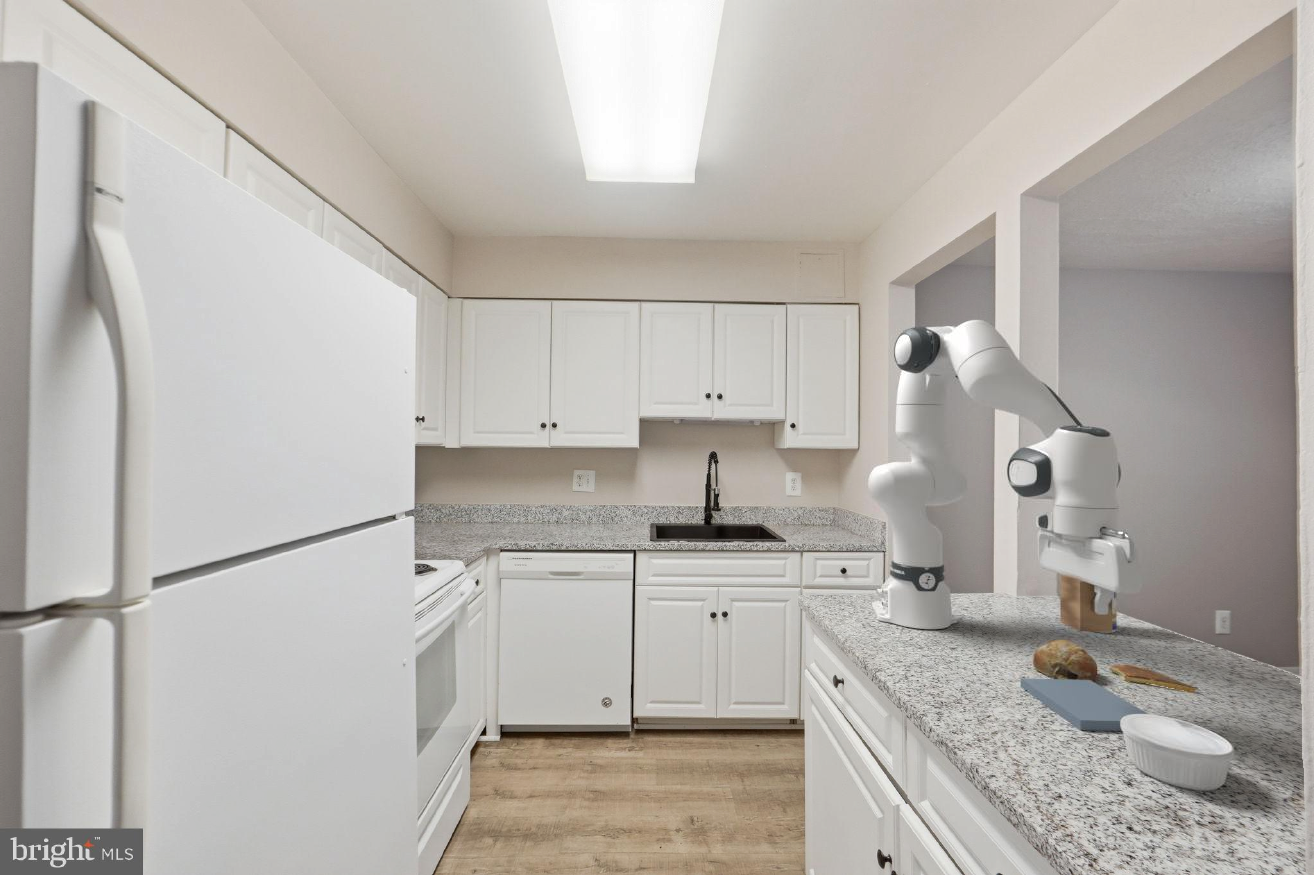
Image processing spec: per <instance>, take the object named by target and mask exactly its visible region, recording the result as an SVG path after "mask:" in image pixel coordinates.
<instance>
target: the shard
mask: <svg viewBox="0 0 1314 875" xmlns="http://www.w3.org/2000/svg"><path fill="white" fill-rule="evenodd" d="M1108 669H1109V670H1110V672H1111V673H1113V672H1114V673H1113V674H1115V673H1116V674H1115V675H1117V674H1118V676H1119V675H1120V676H1121V677H1120V676H1119V677H1120V678H1122V677H1123V679H1124V680H1125V681H1124V680H1123V679H1122V680H1123V681H1124V682H1126V681H1134V682H1140V683H1139V684H1141V683H1148V684H1155V685H1158V686H1164V687H1168V688H1174V689H1178V690H1184V691H1183V692H1185V691H1187V693H1192V692H1196V690H1198V689H1199V688H1198V687H1196V686H1193V685H1190V684H1188V683H1185V682H1182V681H1179V680H1177V679H1174V678H1172V677H1171V676H1168V675H1165V674H1162V673H1160V672H1156V671H1155V670H1152V669H1149V668H1145V667H1144V666H1137V665H1133V664H1121V665H1120V664H1119V665H1118V664H1117V665H1110V666H1108ZM1134 682H1133V683H1134ZM1178 690H1177V691H1178Z"/></svg>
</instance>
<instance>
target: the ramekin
mask: <svg viewBox="0 0 1314 875" xmlns="http://www.w3.org/2000/svg"><path fill="white" fill-rule="evenodd" d="M1120 725H1121V729H1122V731H1121V732H1122V734H1123V739H1124V743H1125V748H1126V753H1127V755H1128V758H1129V760H1130V761H1131V762H1132V764H1133V765H1134V767H1136V768H1137V769H1138V770H1140V771H1141V772H1142V773H1144V774H1146V775H1147V776H1150V777H1152V778H1153V779H1156V780H1158V781H1161V782H1162V783H1165V784H1169V785H1171V786H1175V787H1178V788H1183V789H1187V790H1193V791H1203V792H1204V791H1206V792H1207V791H1214V790H1217V789H1219V788H1221V787H1222V786H1224V784H1225V782H1226V779H1227V775H1228V773H1229V769H1230V766H1231V765H1230V764H1231V760H1233V758H1234V757H1235V748H1234V746H1233V745H1232V743H1230V741H1228V740H1227V739H1225V737H1222V736H1221V735H1219V734H1218V733H1215V732H1214V731H1211V730H1209V729H1207V728H1205V727H1202V726H1200V725H1197V724H1194V723H1191V722H1189V721H1185V720H1181V719H1179V718H1178V719H1177V718H1173V717H1168V716H1164V715H1157V714H1149V713H1148V714H1132V715H1127V716H1124V717H1123V718H1122V719H1121V721H1120Z"/></svg>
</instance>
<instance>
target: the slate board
mask: <svg viewBox="0 0 1314 875" xmlns="http://www.w3.org/2000/svg"><path fill="white" fill-rule="evenodd" d="M1021 687H1022V688H1021ZM1020 688H1021V689H1023V688H1024V689H1025V690H1024V689H1023V690H1024V691H1026V690H1027V691H1026V692H1027V693H1028V692H1029V694H1030V693H1031V694H1032V695H1031V694H1030V695H1031V696H1033V695H1034V696H1035V697H1036V698H1035V697H1034V696H1033V697H1034V698H1035V699H1037V700H1038V699H1039V700H1040V703H1042V702H1043V703H1042V704H1043V705H1045V706H1046V707H1048V708H1049V709H1050V710H1052V711H1054V712H1055V713H1056V714H1057V715H1059V716H1060V717H1062V718H1063V719H1065V720H1066V721H1068V722H1069V723H1070V724H1072V726H1074V727H1075V728H1076V729H1078V730H1079V731H1101V732H1123V731H1122V729H1121V725H1120V721H1121V719H1122V718H1123V717H1124V716H1127V715H1132V714H1149V713H1148V712H1146V711H1144V710H1143V709H1140V708H1138V707H1137V706H1135V705H1133V704H1132V703H1130V702H1128V701H1127V700H1125V699H1124V698H1121V697H1120V696H1119V695H1116V694H1114V693H1113V692H1111V691H1110V690H1108V689H1106V688H1104V687H1103V686H1101V685H1099V684H1098V683H1096V682H1095V681H1094V682H1093V681H1091V680H1068V679H1055V678H1023V677H1022V678H1020ZM1039 700H1038V701H1039Z"/></svg>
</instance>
